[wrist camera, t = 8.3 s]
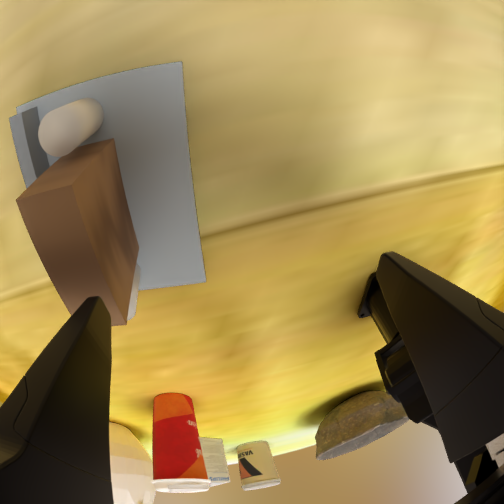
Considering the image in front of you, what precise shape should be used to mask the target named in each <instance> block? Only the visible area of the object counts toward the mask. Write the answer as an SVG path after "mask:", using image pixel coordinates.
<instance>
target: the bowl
mask: <svg viewBox="0 0 504 504" xmlns="http://www.w3.org/2000/svg"><path fill="white" fill-rule="evenodd" d="M408 420H409V418H408V416H407V414H406V412H405V410H404V408H403V406H402V404H401V403H398V402H397V401H396V400H394V398H393V397H392V396H391V395H388V394H387V393H386V392H384V391H367V392H363V393H360V394H358V395H355V396H353V397H351V398H350V399H348V400H346V401H344V402H343V403H341V404H340V405H338V406H337V407H335V408H334V409H333V410H332V411H330V412H329V413H328V414H327V415H326V416H325V418H324V420H323V421H322V423H321V424H320V426H319V428H318V431H317V433H316V436H315V439H316V445H317V450H316V459H317V460H325V459H330V458H334V457H337V456H340V455H342V454H346V453H348V452H351V451H354V450H356V449H358V448H361V447H363V446H365V445H367V444H369V443H371V442H373V441H375V440H377V439H378V438H381V437H383V436H385V435H386V434H388V433H390V432H392V431H393V430H395V429H396V428H398V427H400V426H401V425H403V424H404V423H405V422H407V421H408Z"/></svg>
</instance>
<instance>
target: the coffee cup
mask: <svg viewBox="0 0 504 504" xmlns="http://www.w3.org/2000/svg"><path fill="white" fill-rule="evenodd" d="M237 453H238V461H239V468H240V476H241V483H242V488H243V489H244V490H254V489H260V488H265V487H271V486H274V485H278V484H280V481H281V479H280V478H279V475H278V472H277V469H276V466H275V463H274V460H273V457H272V454H271V451H270V448H269V445H268V443H267V442H266V441H255V442H249V443H245V444H242V445H239V446H238V447H237Z"/></svg>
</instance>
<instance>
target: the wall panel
mask: <svg viewBox="0 0 504 504" xmlns="http://www.w3.org/2000/svg"><path fill="white" fill-rule="evenodd" d="M16 109H17V115H15V116H12V117H10V118H9V121H10V126H11V131H12V136H13V140H14V145H15V149H16V153H17V157H18V161H19V164H20V168H21V171H22V175H23V178H24V182H25V185H26V188H28V187H29V186H30V185H31V184H32V183H33V182H34V181H35V180H36V179H37V178H38V177H39V176H40V175H42V174H43V173H44V172H45V171H46V170H47V169H48V168H49V167H50V166H51V165H52V164H54V163H55V162H56V161H57V160H58V159H59V158H60V157H62V156H65V155H67V154H69V153H70V152H72V151H73V150H74V149H75V148H76V147H79V146H83V145H87V144H91V143H95V142H99V141H103V140H108V139H112V138H114V141H115V147H116V152H117V157H118V162H119V167H120V172H121V177H122V181H123V186H124V190H125V195H126V199H127V203H128V207H129V211H130V215H131V219H132V223H133V227H134V230H135V234H136V238H137V241H138V245H139V252H138V257H137V262H136V267H135V273H134V278H133V284H132V290H131V297H130V303H129V310H128V317H127V320H130V319H132V318H133V317H134V316H135V313H136V304H137V297H138V290H147V289H155V288H164V287H172V286H180V285H188V284H195V283H203V282H206V275H205V268H204V262H203V255H202V249H201V242H200V235H199V228H198V220H197V213H196V205H195V197H194V189H193V180H192V171H191V162H190V153H189V143H188V132H187V121H186V109H185V96H184V81H183V65H182V61H181V62H174V63H166V64H160V65H154V66H148V67H143V68H138V69H133V70H128V71H123V72H119V73H115V74H111V75H107V76H103V77H99V78H96V79H92V80H89V81H85V82H82V83H79V84H75V85H72V86H69V87H66V88H63V89H61V90H58V91H55V92H52V93H50V94H47V95H44V96H42V97H39V98H37V99H34V100H32V101H30V102H27V103H25V104H23V105H21V106H18V107H16Z"/></svg>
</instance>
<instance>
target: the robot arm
mask: <svg viewBox="0 0 504 504" xmlns="http://www.w3.org/2000/svg"><path fill="white" fill-rule="evenodd" d="M357 315H358V317H359V318H364V317H367V316H371V317H372V319H373V320H374V322H375V324H376V325H377V327H378V329H379V331H380V332H381V334H382V336H383V338H384V339H385V341H386V343H387V345H386V346H384V347H383V348H382V349H380V350H378V351H376V352H375V356H376V361H377V364H378V367H379V370H380V373H381V376H382V379H383V382H384V386H385V390H386V393H387V394H388V395H391V396H392V397H393V398H394V400H396V401H397V402H398V403H401V404H402V406H403V408H404V410H405V412H406V414H407V416H408V418H409V419H410V420H412V421H413V422H415V423H420V422H422V423H424V424H427V425H429V426H431V427H433V428H435V429H437V430H438V431H439V433H440V434H441V437H442V440H443V443H444V446H445V449H446V453H447V456H448V459H449V462H450V463H453V462H454V463H455V465H456V468H457V470H458V472H459V474H460V477H461V479H462V481H463V483H464V486H465V488H466V490H467V493H468V494H467V495H466V496H464V497H463V498H462V499H460V500H459V501H458V502H456V503H454V504H504V313H503V312H501V311H499V310H497V309H495V308H494V307H492V306H490V305H489V304H487V303H485V302H484V301H482V300H480V299H479V298H476V297H475V296H474V295H472V294H470V293H468V292H467V291H465V290H463V289H462V288H460V287H458V286H456V285H455V284H453V283H451V282H449V281H448V280H446V279H444V278H442V277H440V276H439V275H437V274H435V273H433V272H431V271H429V270H428V269H426V268H424V267H422V266H420V265H418V264H416V263H415V262H413V261H411V260H409V259H407V258H405V257H403V256H401V255H399V254H397V253H395V252H393V251H391V252H385V253H383V254H382V255H381V257H380V261H379V264H378V268H377V272H376V273H374V274H372V275H371V276H370V279H369V282H368V285H367V288H366V291H365V294H364V297H363V299H362V302H361V305H360V308H359V311H358V313H357ZM111 364H112V355H111V316H110V313H109V311H108V309H107V307H106V306H105V304H104V302H103V300H102V298H101V297H100V296H92V297H88V298H87V299H86V300H85V301H84V302H83V303H82V304H81V305H80V307H79V308H78V309H77V310H76V311H75V312H74V313H73V315H72V316H71V317H70V318H69V319H68V320H67V322H66V323H65V324H64V325H63V326H62V328H61V329H60V330H59V331H58V332H57V334H56V335H55V336H54V337H53V339H52V340H51V341H50V342H49V344H48V345H47V346H46V347H45V349H44V350H43V351H42V352H41V354H40V355H39V356H38V358H37V359H36V360H35V362H34V363H33V364H32V366H31V367H30V368H29V370H28V371H27V372H26V374H25V376H23V378H22V379H21V380H20V382H19V383H18V385H17V386H16V387H15V389H14V390H13V391H12V393H11V394H10V396H9V397H8V398H7V399H6V401H5V402H4V403H3V405H2V406H1V407H0V504H114V500H113V491H112V482H111V468H110V445H109V405H110V381H111Z"/></svg>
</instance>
